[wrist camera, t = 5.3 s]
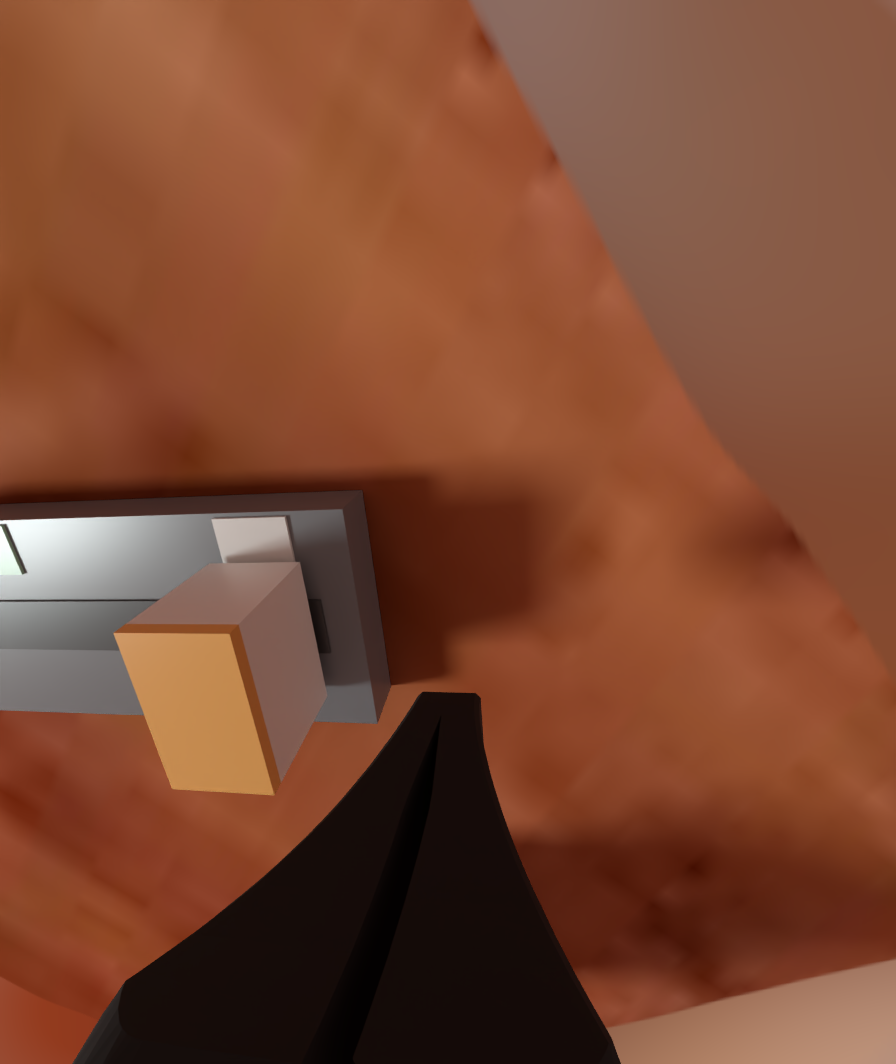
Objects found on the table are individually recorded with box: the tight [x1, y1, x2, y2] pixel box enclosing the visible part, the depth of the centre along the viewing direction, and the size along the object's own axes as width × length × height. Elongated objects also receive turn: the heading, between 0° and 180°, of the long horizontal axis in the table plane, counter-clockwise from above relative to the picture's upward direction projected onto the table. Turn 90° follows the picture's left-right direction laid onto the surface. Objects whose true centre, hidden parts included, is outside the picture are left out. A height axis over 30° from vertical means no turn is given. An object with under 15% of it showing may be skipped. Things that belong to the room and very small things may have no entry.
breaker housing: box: [0, 490, 391, 724], centre depth 18 cm, size 16×8×2 cm, turn 95°
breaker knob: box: [113, 562, 327, 795], centre depth 14 cm, size 3×5×4 cm, turn 5°
